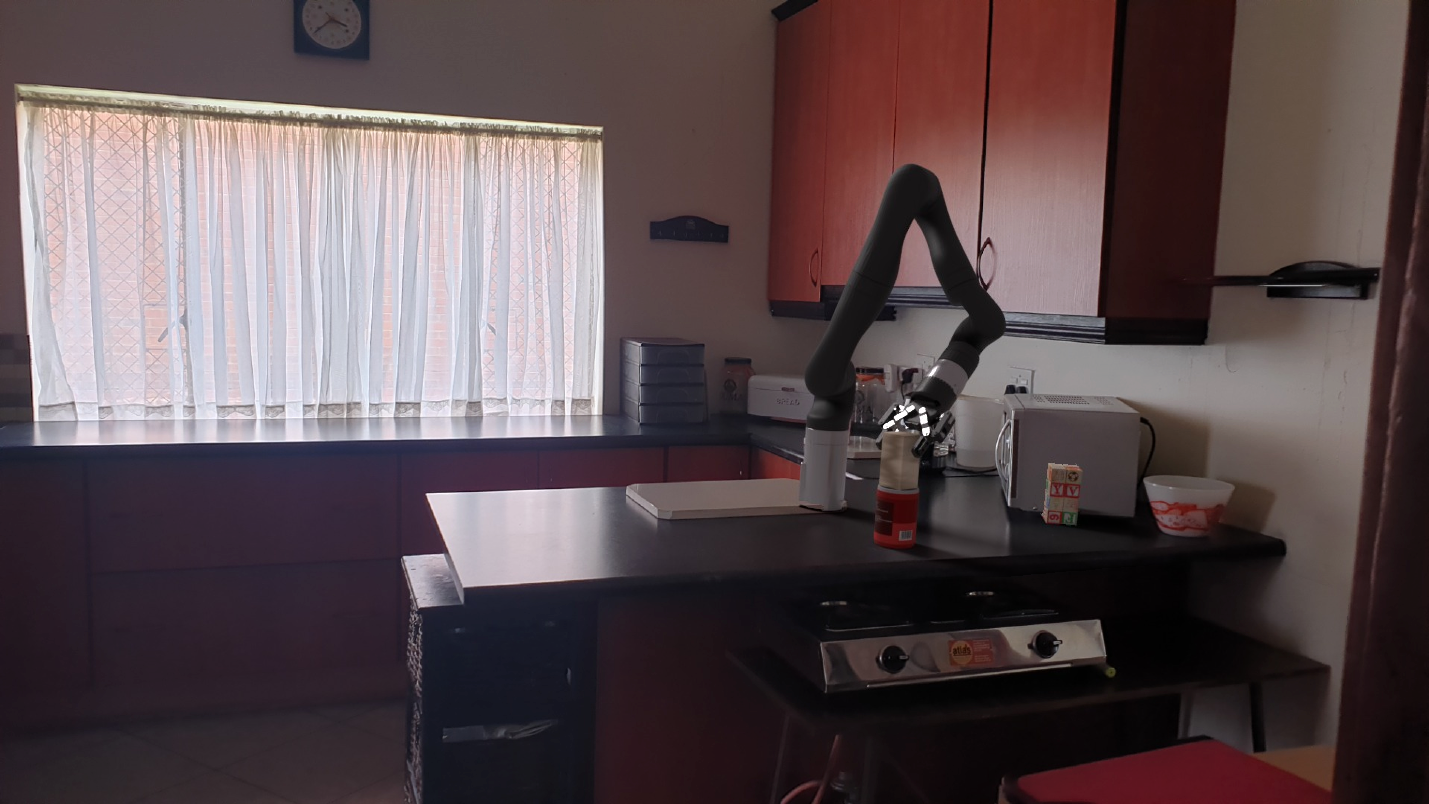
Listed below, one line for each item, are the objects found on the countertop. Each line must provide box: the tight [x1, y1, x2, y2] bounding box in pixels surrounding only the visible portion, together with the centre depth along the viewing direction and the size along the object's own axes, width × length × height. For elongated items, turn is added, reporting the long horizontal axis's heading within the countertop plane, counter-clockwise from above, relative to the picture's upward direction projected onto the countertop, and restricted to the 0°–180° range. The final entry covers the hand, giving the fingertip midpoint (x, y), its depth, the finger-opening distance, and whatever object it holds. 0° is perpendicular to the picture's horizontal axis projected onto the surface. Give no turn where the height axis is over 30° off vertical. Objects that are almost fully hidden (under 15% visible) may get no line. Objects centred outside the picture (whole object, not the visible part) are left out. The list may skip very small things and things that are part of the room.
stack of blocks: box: [1041, 463, 1083, 527], centre depth 221 cm, size 21×6×12 cm, turn 170°
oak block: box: [878, 431, 922, 490], centre depth 185 cm, size 5×5×10 cm
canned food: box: [873, 484, 920, 550], centre depth 186 cm, size 8×8×11 cm
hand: (896, 451), depth 184 cm, fingers open, 8 cm apart
